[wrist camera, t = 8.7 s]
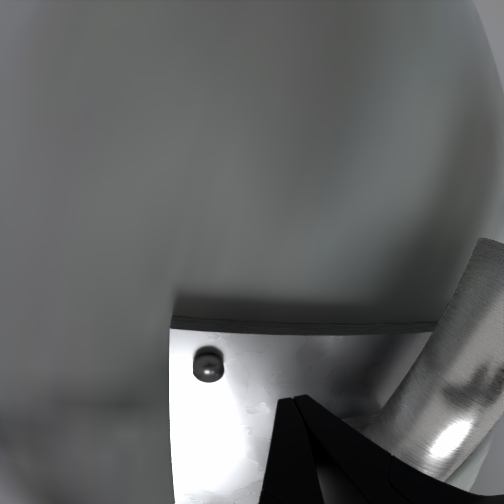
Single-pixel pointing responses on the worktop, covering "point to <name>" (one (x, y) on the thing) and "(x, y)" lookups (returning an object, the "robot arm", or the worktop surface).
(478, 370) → the collar
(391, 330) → the flange
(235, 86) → the worktop surface
